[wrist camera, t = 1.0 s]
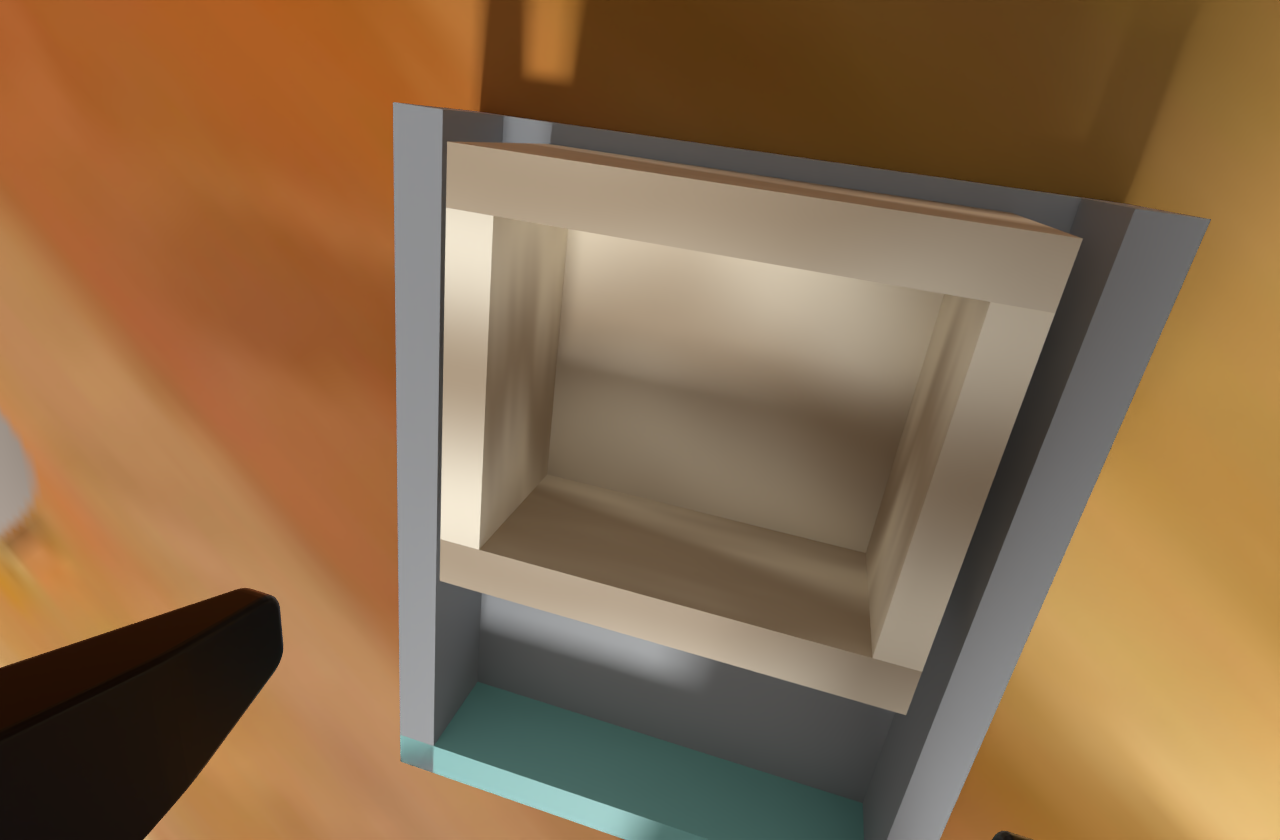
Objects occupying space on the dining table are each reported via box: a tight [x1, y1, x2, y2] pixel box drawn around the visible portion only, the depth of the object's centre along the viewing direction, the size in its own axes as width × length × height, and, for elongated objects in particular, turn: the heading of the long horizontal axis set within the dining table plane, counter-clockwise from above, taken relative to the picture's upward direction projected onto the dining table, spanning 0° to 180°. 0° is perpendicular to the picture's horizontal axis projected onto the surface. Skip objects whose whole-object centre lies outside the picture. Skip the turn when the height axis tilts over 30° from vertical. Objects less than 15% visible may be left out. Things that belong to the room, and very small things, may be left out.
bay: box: [393, 102, 1211, 840], centre depth 19 cm, size 20×16×4 cm
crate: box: [440, 141, 1083, 715], centre depth 16 cm, size 10×11×5 cm
